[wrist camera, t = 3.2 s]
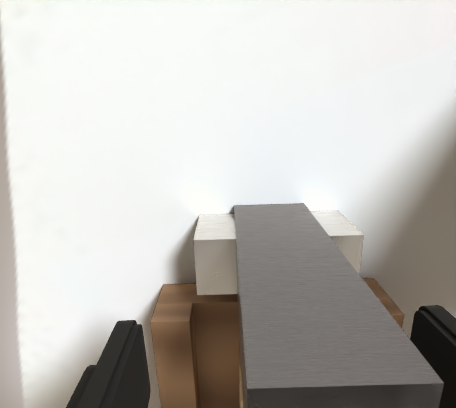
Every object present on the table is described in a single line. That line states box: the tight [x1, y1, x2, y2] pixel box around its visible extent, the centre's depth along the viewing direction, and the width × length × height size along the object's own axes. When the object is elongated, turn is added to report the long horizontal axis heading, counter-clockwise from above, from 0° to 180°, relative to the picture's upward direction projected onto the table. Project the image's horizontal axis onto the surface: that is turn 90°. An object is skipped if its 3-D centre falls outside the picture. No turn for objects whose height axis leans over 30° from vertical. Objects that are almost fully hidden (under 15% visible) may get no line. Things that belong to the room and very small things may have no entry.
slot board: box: [150, 278, 404, 408], centre depth 20 cm, size 14×13×4 cm
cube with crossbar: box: [193, 203, 444, 408], centre depth 13 cm, size 4×8×12 cm, turn 92°
